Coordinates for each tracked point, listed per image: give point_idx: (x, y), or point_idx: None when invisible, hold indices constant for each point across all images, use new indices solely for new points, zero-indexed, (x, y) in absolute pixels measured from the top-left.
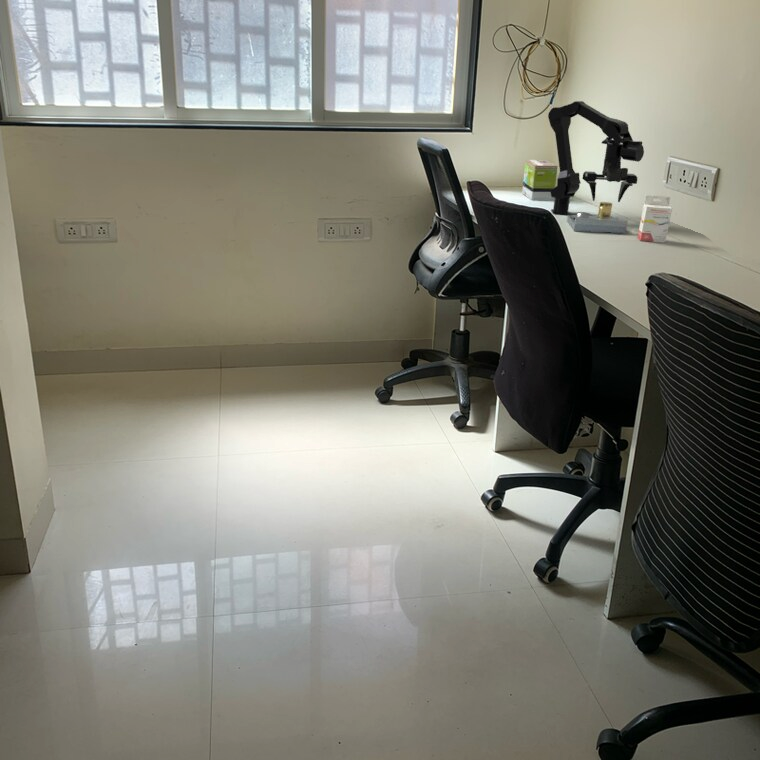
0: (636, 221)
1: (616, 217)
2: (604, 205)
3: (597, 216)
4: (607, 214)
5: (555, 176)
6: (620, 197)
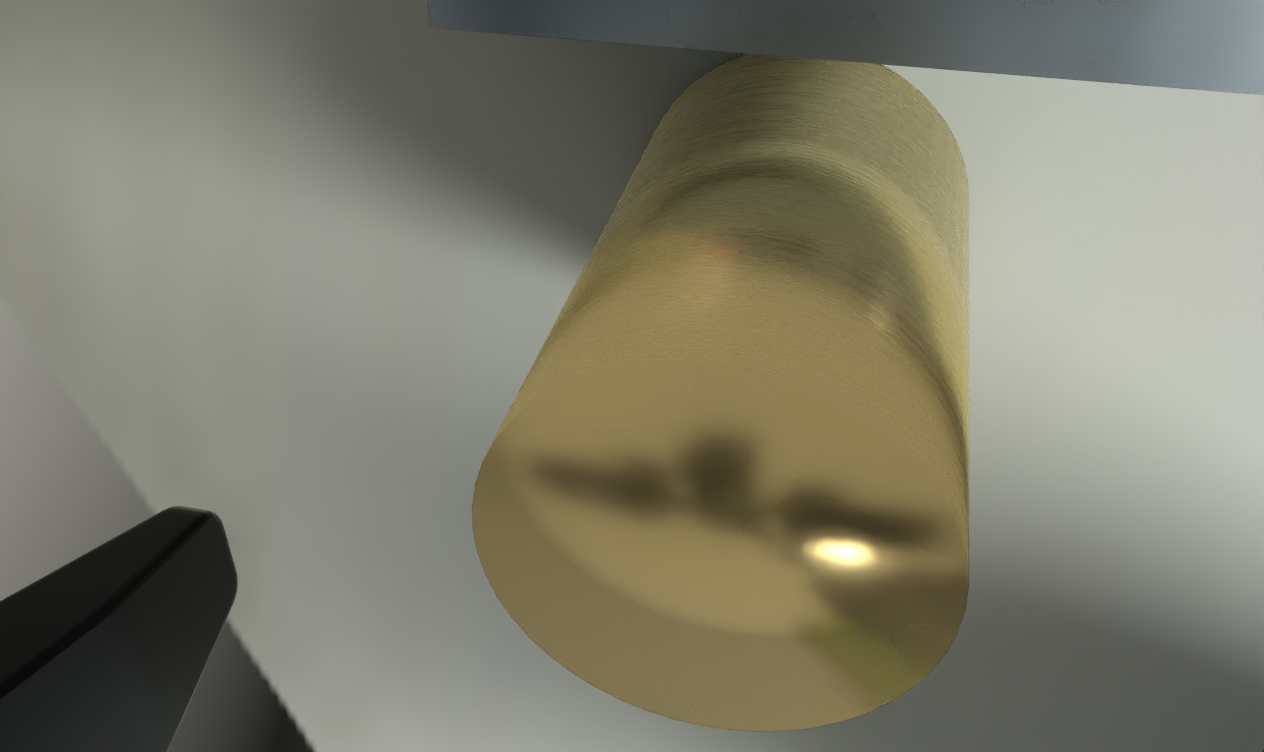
0: (33, 337)
1: (445, 8)
2: (842, 365)
3: (1119, 61)
4: (718, 161)
5: None
6: (41, 617)
